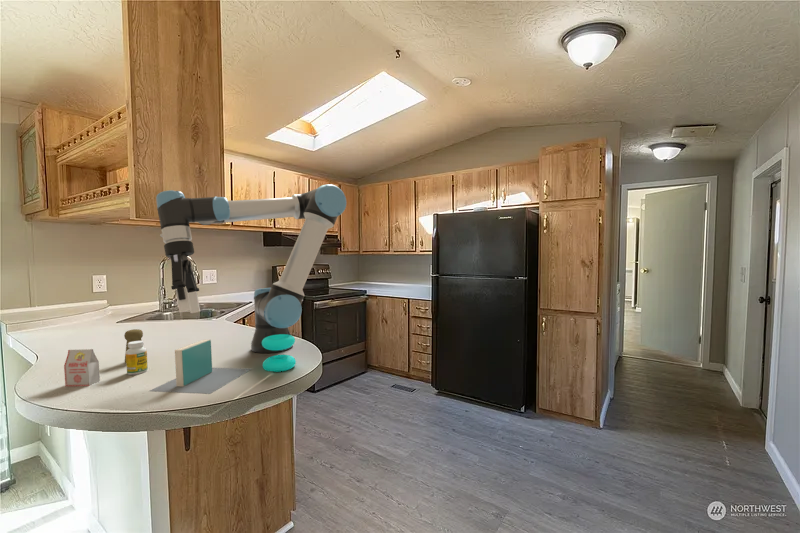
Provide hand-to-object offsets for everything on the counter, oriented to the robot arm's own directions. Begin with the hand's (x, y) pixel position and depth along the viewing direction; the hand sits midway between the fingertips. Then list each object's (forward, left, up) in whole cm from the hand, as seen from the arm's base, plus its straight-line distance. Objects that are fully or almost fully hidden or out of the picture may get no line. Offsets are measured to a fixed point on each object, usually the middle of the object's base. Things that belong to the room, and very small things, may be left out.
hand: (190, 312), depth 110 cm
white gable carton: (+24, -18, -20) cm, 36 cm away
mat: (-1, +7, -19) cm, 20 cm away
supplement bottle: (+11, -18, -20) cm, 29 cm away
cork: (+9, -33, -20) cm, 39 cm away
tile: (+1, +4, -19) cm, 19 cm away
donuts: (-21, +12, -20) cm, 31 cm away
